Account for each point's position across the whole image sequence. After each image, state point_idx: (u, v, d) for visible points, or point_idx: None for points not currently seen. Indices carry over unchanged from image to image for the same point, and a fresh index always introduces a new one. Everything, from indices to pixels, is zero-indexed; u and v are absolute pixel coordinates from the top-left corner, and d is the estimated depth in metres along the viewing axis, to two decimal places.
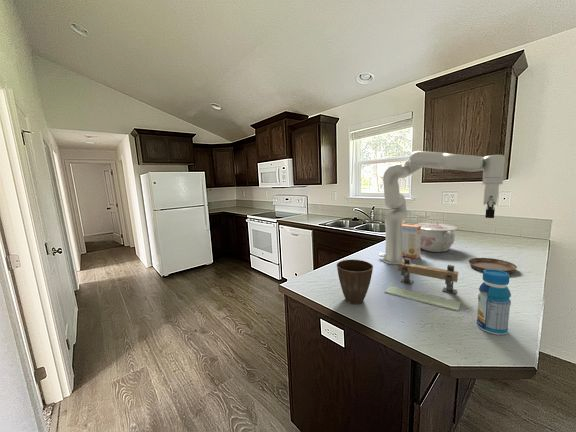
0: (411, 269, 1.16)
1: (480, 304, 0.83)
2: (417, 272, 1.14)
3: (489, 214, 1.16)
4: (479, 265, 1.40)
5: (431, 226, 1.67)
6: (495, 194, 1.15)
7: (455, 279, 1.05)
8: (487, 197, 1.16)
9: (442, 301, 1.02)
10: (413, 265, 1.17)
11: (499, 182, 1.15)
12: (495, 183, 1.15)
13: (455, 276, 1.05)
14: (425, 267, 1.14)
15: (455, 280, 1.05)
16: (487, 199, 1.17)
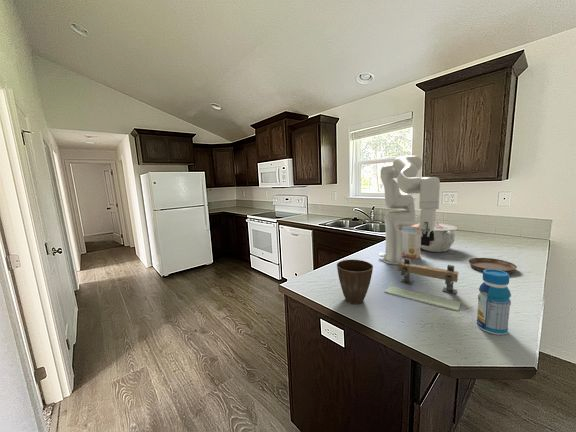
0: (411, 269, 1.16)
1: (480, 304, 0.83)
2: (417, 272, 1.14)
3: (424, 241, 1.07)
4: (479, 265, 1.40)
5: None
6: (430, 220, 1.05)
7: (455, 279, 1.05)
8: (422, 223, 1.07)
9: (442, 301, 1.02)
10: (413, 265, 1.17)
11: (434, 207, 1.06)
12: (430, 208, 1.06)
13: (455, 276, 1.05)
14: (425, 267, 1.14)
15: (455, 280, 1.05)
16: (422, 225, 1.07)
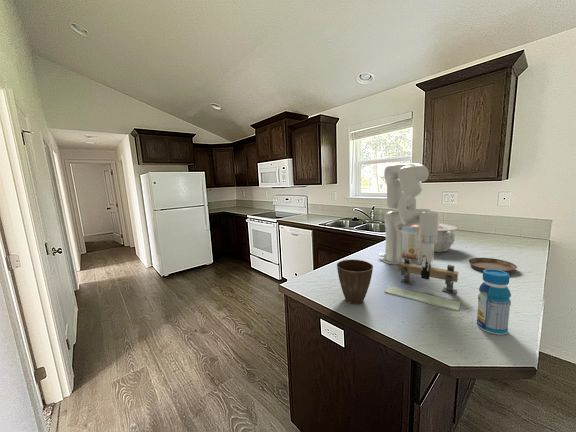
0: (411, 269, 1.16)
1: (480, 304, 0.83)
2: (417, 272, 1.14)
3: (424, 275, 1.11)
4: (479, 265, 1.40)
5: None
6: (428, 254, 1.08)
7: (455, 279, 1.05)
8: (421, 256, 1.09)
9: (442, 301, 1.02)
10: (413, 265, 1.17)
11: (432, 241, 1.08)
12: (428, 242, 1.08)
13: (455, 276, 1.05)
14: None
15: (455, 280, 1.05)
16: (421, 258, 1.10)
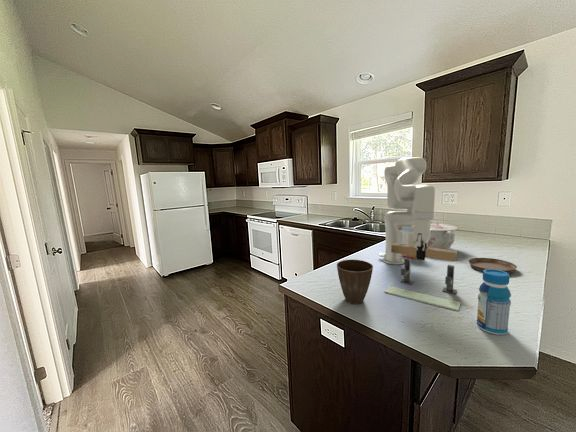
0: (406, 250, 1.06)
1: (480, 304, 0.83)
2: (412, 253, 1.05)
3: (419, 256, 1.02)
4: (479, 265, 1.40)
5: (431, 226, 1.67)
6: (424, 232, 0.98)
7: (453, 258, 0.95)
8: (416, 234, 1.00)
9: (442, 301, 1.02)
10: (408, 245, 1.07)
11: (428, 218, 0.98)
12: (424, 219, 0.99)
13: (453, 255, 0.95)
14: None
15: (453, 260, 0.96)
16: (416, 237, 1.00)
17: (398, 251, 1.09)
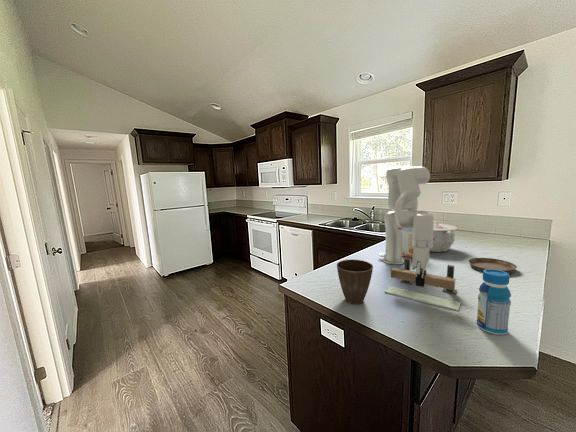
0: (405, 276, 1.08)
1: (480, 304, 0.83)
2: (411, 279, 1.06)
3: (418, 282, 1.04)
4: (479, 265, 1.40)
5: None
6: (423, 260, 1.00)
7: (452, 287, 0.97)
8: (415, 262, 1.02)
9: (442, 301, 1.02)
10: (407, 271, 1.09)
11: (427, 246, 1.00)
12: (423, 247, 1.00)
13: (452, 284, 0.97)
14: None
15: (452, 288, 0.97)
16: (415, 264, 1.02)
17: (398, 276, 1.10)
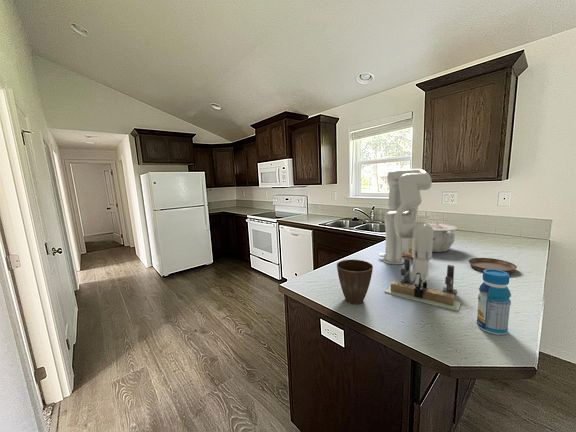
0: (405, 290, 1.09)
1: (480, 304, 0.83)
2: (411, 293, 1.08)
3: (417, 294, 1.03)
4: (479, 265, 1.40)
5: (431, 226, 1.67)
6: (422, 272, 1.00)
7: (451, 303, 0.98)
8: (414, 274, 1.02)
9: None
10: (407, 285, 1.10)
11: (427, 258, 1.01)
12: (423, 259, 1.01)
13: (451, 300, 0.98)
14: None
15: (451, 304, 0.98)
16: (414, 276, 1.02)
17: (397, 290, 1.11)
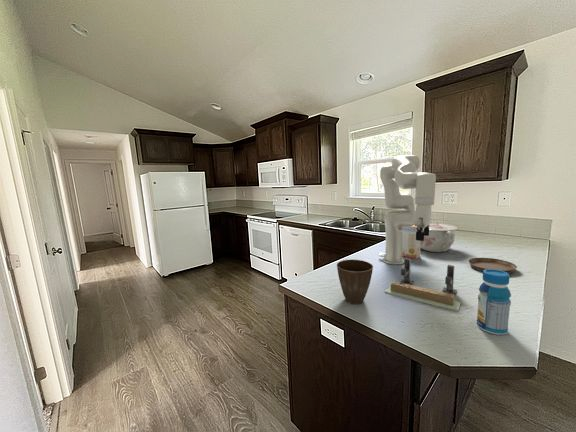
0: (405, 290, 1.09)
1: (480, 304, 0.83)
2: (411, 293, 1.08)
3: (419, 237, 1.09)
4: (479, 265, 1.40)
5: (431, 226, 1.67)
6: (424, 216, 1.07)
7: (451, 303, 0.98)
8: (417, 219, 1.09)
9: None
10: (407, 285, 1.10)
11: (429, 203, 1.07)
12: (425, 204, 1.07)
13: (451, 300, 0.98)
14: (419, 288, 1.07)
15: (451, 304, 0.98)
16: (417, 221, 1.09)
17: (397, 290, 1.11)
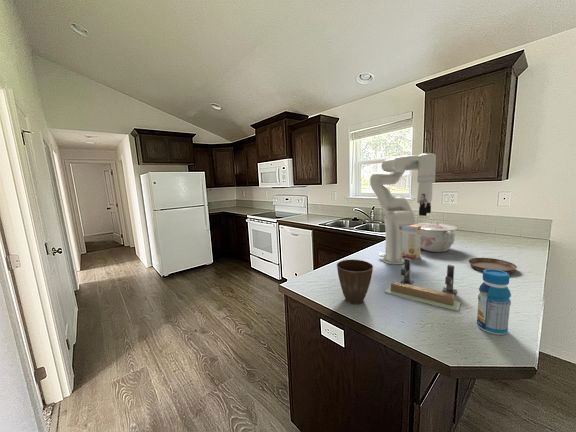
0: (405, 290, 1.09)
1: (480, 304, 0.83)
2: (411, 293, 1.08)
3: (422, 212, 1.18)
4: (479, 265, 1.40)
5: (431, 226, 1.67)
6: (427, 192, 1.17)
7: (451, 303, 0.98)
8: (420, 195, 1.19)
9: None
10: (407, 285, 1.10)
11: (431, 180, 1.17)
12: (427, 181, 1.17)
13: (451, 300, 0.98)
14: (419, 288, 1.07)
15: (451, 304, 0.98)
16: (420, 197, 1.19)
17: (397, 290, 1.11)
